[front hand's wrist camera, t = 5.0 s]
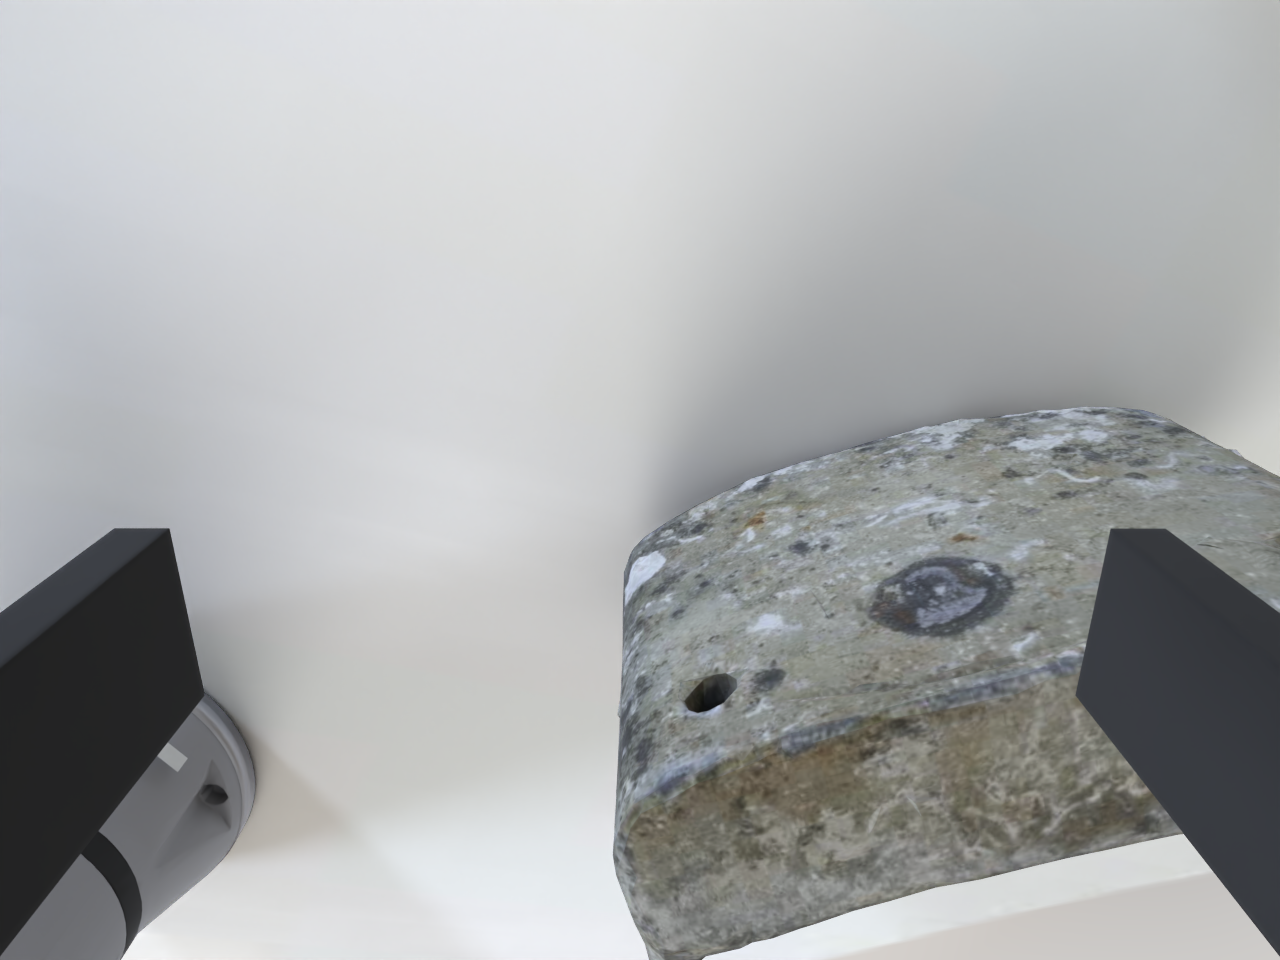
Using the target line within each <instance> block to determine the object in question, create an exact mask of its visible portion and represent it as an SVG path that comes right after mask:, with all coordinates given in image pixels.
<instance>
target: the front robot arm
mask: <svg viewBox="0 0 1280 960" xmlns="http://www.w3.org/2000/svg"><path fill="white" fill-rule="evenodd" d="M1075 696H1076V697H1077V698H1078V699H1079V701H1080V702H1081V703H1082V705H1083V706H1084V707H1085V708H1086V710H1087V711H1088V712H1089V714H1090V715H1091V716H1092V717H1093V719H1094V720H1095V721H1096V722H1097V724H1098V725H1099V726H1100V728H1101V729H1102V730H1103V731H1104V733H1105V734H1106V735H1107V737H1108V738H1109V739H1110V740H1111V742H1112V743H1113V744H1114V745H1115V747H1116V748H1117V749H1118V751H1119V752H1120V753H1121V754H1122V756H1123V757H1124V758H1125V759H1126V761H1127V762H1128V763H1129V765H1130V766H1131V767H1132V768H1133V770H1134V771H1135V772H1136V774H1137V775H1138V776H1139V777H1140V779H1141V780H1142V781H1143V782H1144V784H1145V785H1146V786H1147V788H1148V789H1149V790H1150V791H1151V793H1152V794H1153V795H1154V796H1155V798H1156V799H1157V800H1158V802H1159V803H1160V804H1161V805H1162V807H1163V808H1164V809H1165V811H1166V812H1167V813H1168V814H1169V816H1170V817H1171V818H1172V819H1173V821H1174V822H1175V823H1176V825H1177V826H1178V827H1179V828H1180V830H1181V831H1182V832H1183V834H1184V835H1185V836H1186V837H1187V839H1188V840H1189V841H1190V842H1191V844H1192V845H1193V846H1194V848H1195V849H1196V850H1197V851H1198V853H1199V854H1200V855H1201V856H1202V858H1203V859H1204V860H1205V862H1206V863H1207V864H1208V865H1209V867H1210V868H1211V869H1212V871H1213V872H1214V873H1215V874H1216V876H1217V877H1218V878H1219V879H1220V881H1221V882H1222V883H1223V885H1224V886H1225V887H1226V888H1227V890H1228V891H1229V892H1230V893H1231V895H1232V896H1233V897H1234V899H1235V900H1236V901H1237V902H1238V904H1239V905H1240V906H1241V908H1242V909H1243V910H1244V911H1245V913H1246V914H1247V915H1248V916H1249V918H1250V919H1251V920H1252V922H1253V923H1254V924H1255V925H1256V927H1257V928H1258V929H1259V931H1260V932H1261V933H1262V934H1263V935H1264V937H1265V938H1266V939H1267V941H1268V942H1269V943H1270V945H1271V946H1272V947H1273V948H1274V950H1275V951H1276V952H1277V953H1278V955H1279V956H1280V613H1279V612H1278V611H1276V610H1275V609H1274V608H1272V607H1271V606H1270V605H1268V604H1267V603H1266V602H1264V601H1263V600H1262V599H1260V598H1259V597H1258V596H1256V595H1255V594H1253V593H1252V592H1251V591H1249V590H1248V589H1247V588H1245V587H1244V586H1243V585H1241V584H1240V583H1239V582H1237V581H1236V580H1235V579H1233V578H1232V577H1230V576H1229V575H1228V574H1226V573H1225V572H1224V571H1222V570H1221V569H1220V568H1218V567H1217V566H1216V565H1214V564H1213V563H1212V562H1210V561H1209V560H1207V559H1206V558H1205V557H1203V556H1202V555H1201V554H1199V553H1198V552H1197V551H1195V550H1194V549H1193V548H1191V547H1190V546H1189V545H1187V544H1186V543H1184V542H1183V541H1182V540H1180V539H1179V538H1178V537H1176V536H1175V535H1174V534H1172V533H1171V532H1170V531H1168V530H1167V529H1110V534H1109V539H1108V543H1107V548H1106V553H1105V558H1104V562H1103V567H1102V572H1101V576H1100V581H1099V586H1098V591H1097V595H1096V600H1095V605H1094V609H1093V614H1092V619H1091V624H1090V628H1089V633H1088V638H1087V643H1086V647H1085V652H1084V657H1083V661H1082V666H1081V671H1080V676H1079V680H1078V685H1077V690H1076V695H1075ZM254 796H255V775H254V769H253V764H252V760H251V757H250V754H249V751H248V749H247V746H246V744H245V742H244V740H243V738H242V736H241V735H240V733H239V731H238V729H237V728H236V726H235V725H234V724H233V722H232V721H231V719H230V718H229V717H228V716H227V714H226V713H225V712H224V711H223V710H222V709H221V708H220V707H219V706H218V705H217V704H216V703H215V702H214V701H213V700H212V699H211V698H210V697H209V696H208V695H207V694H205V693H204V690H203V685H202V680H201V676H200V671H199V666H198V661H197V657H196V652H195V647H194V643H193V638H192V633H191V628H190V624H189V619H188V614H187V609H186V605H185V600H184V595H183V591H182V586H181V581H180V576H179V572H178V567H177V562H176V558H175V553H174V548H173V543H172V539H171V534H170V529H113V530H112V531H110V532H109V533H108V534H106V535H105V536H104V537H102V538H101V539H100V540H98V541H97V542H96V543H94V544H93V545H91V546H90V547H89V548H87V549H86V550H85V551H83V552H82V553H81V554H79V555H78V556H77V557H75V558H74V559H73V560H71V561H70V562H68V563H67V564H66V565H64V566H63V567H62V568H60V569H59V570H58V571H56V572H55V573H54V574H52V575H51V576H50V577H48V578H47V579H45V580H44V581H43V582H41V583H40V584H39V585H37V586H36V587H35V588H33V589H32V590H31V591H29V592H28V593H27V594H25V595H24V596H22V597H21V598H20V599H18V600H17V601H16V602H14V603H13V604H12V605H10V606H9V607H8V608H6V609H5V610H4V611H2V612H1V613H0V960H121V959H122V957H123V955H124V954H125V952H126V951H127V949H128V948H129V946H130V945H131V943H132V941H133V940H134V938H135V937H136V935H137V934H138V933H139V932H140V931H141V930H142V929H143V928H145V927H146V926H147V925H148V924H149V923H151V922H152V921H153V920H154V919H155V918H157V917H158V916H159V915H160V914H161V913H162V912H164V911H165V910H166V909H167V908H168V907H170V906H171V905H172V904H173V903H174V902H176V901H177V900H178V899H179V898H180V897H182V896H183V895H184V894H185V893H186V892H187V891H189V890H190V889H191V888H192V887H193V886H195V885H196V884H197V883H198V882H199V881H201V880H202V879H203V878H204V877H205V876H207V875H208V874H209V873H210V872H211V871H212V870H213V869H214V868H215V867H216V866H217V865H218V864H219V863H220V862H221V861H222V860H223V858H224V857H225V856H226V855H227V854H228V852H229V851H230V849H231V848H232V846H233V845H234V843H235V841H236V839H237V838H238V836H239V834H240V833H241V831H242V829H243V827H244V826H245V824H246V822H247V820H248V817H249V815H250V812H251V809H252V806H253V801H254Z"/></svg>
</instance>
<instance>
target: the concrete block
mask: <svg viewBox="0 0 1280 960" xmlns="http://www.w3.org/2000/svg"><path fill="white" fill-rule="evenodd" d="M1110 529H1167V530H1168V531H1170V532H1171V533H1172V534H1174V535H1175V536H1176V537H1178V538H1179V539H1180V540H1182V541H1183V542H1184V543H1186V544H1187V545H1189V546H1190V547H1191V548H1193V549H1194V550H1195V551H1197V552H1198V553H1199V554H1201V555H1202V556H1203V557H1205V558H1206V559H1207V560H1209V561H1210V562H1212V563H1213V564H1214V565H1216V566H1217V567H1218V568H1220V569H1221V570H1222V571H1224V572H1225V573H1226V574H1228V575H1229V576H1230V577H1232V578H1233V579H1235V580H1236V581H1237V582H1239V583H1240V584H1241V585H1243V586H1244V587H1245V588H1247V589H1248V590H1249V591H1251V592H1252V593H1253V594H1255V595H1256V596H1258V597H1259V598H1260V599H1262V600H1263V601H1264V602H1266V603H1267V604H1268V605H1270V606H1271V607H1272V608H1274V609H1275V610H1276V611H1278V612H1279V613H1280V477H1279V476H1277V475H1275V474H1273V473H1270V472H1269V471H1267V470H1265V469H1263V468H1261V467H1260V466H1258V465H1256V464H1254V463H1252V462H1250V461H1248V460H1246V459H1244V458H1243V457H1242V455H1241V454H1240V453H1239V452H1238V451H1237V450H1229V449H1225V448H1223V447H1221V446H1219V445H1217V444H1215V443H1213V442H1211V441H1209V440H1207V439H1206V438H1205V437H1204V436H1200V435H1198V434H1196V433H1194V432H1192V431H1190V430H1188V429H1186V428H1184V427H1182V426H1181V425H1179V424H1177V423H1175V422H1173V421H1171V420H1170V419H1167V418H1164V417H1162V416H1159V415H1156V414H1153V413H1150V412H1147V411H1144V410H1134V409H1125V408H1110V407H1078V408H1070V409H1062V410H1038V411H1034V412H1030V413H1024V414H1015V415H1005V416H999V417H993V418H983V419H958V420H955V421H951V422H947V423H943V424H939V425H936V426H925V427H922V428H918V429H915V430H912V431H909V432H905V433H902V434H898V435H895V436H891V437H887V438H883V439H880V440H876V441H872V442H869V443H866V444H862V445H859V446H856V447H853V448H850V449H847V450H844V451H841V452H837V453H833V454H829V455H825V456H822V457H818V458H815V459H811V460H808V461H804V462H800V463H797V464H794V465H791V466H788V467H785V468H783V469H779V470H776V471H773V472H770V473H767V474H764V475H761V476H757V477H754V478H751V479H750V480H748V481H746V482H744V483H742V484H740V485H738V486H736V487H734V488H732V489H730V490H727V491H725V492H723V493H721V494H719V495H717V496H715V497H713V498H711V499H709V500H707V501H705V502H703V503H701V504H699V505H697V506H695V507H693V508H691V509H690V510H688V511H686V512H684V513H683V514H681V515H679V516H677V517H675V518H674V519H672V520H670V521H669V522H667V523H666V524H664V525H663V526H661V527H659V528H658V529H656V530H655V531H653V532H652V533H650V534H649V535H647V536H646V537H644V538H643V539H642V540H641V542H640V543H639V544H638V545H637V546H636V547H635V548H634V549H633V551H632V553H631V554H630V557H629V560H628V563H627V566H626V569H625V571H624V594H623V664H622V680H621V697H620V704H619V710H618V716H619V717H620V732H619V751H618V773H617V790H616V812H615V834H614V846H613V858H614V864H615V870H616V875H617V878H618V881H619V883H620V886H621V889H622V892H623V894H624V897H625V900H626V902H627V905H628V908H629V910H630V913H631V915H632V918H633V920H634V923H635V925H636V927H637V929H638V931H639V933H640V935H641V937H642V939H643V941H644V943H645V945H646V949H647V953H648V957H649V960H702V959H703V958H704V957H705V956H709V955H713V954H718V953H722V952H726V951H731V950H735V949H739V948H742V947H744V946H746V945H748V944H750V943H752V942H757V941H761V940H766V939H771V938H775V937H777V936H780V935H783V934H786V933H789V932H791V931H794V930H797V929H800V928H803V927H807V926H810V925H813V924H816V923H819V922H822V921H825V920H828V919H831V918H834V917H837V916H840V915H843V914H845V913H848V912H851V911H854V910H858V909H862V908H865V907H869V906H873V905H876V904H880V903H884V902H888V901H891V900H895V899H898V898H901V897H905V896H908V895H911V894H915V893H918V892H922V891H925V890H928V889H932V888H935V887H941V886H946V885H952V884H957V883H963V882H968V881H974V880H979V879H983V878H987V877H991V876H995V875H999V874H1003V873H1007V872H1011V871H1015V870H1019V869H1023V868H1028V867H1032V866H1036V865H1040V864H1044V863H1048V862H1052V861H1057V860H1061V859H1065V858H1069V857H1074V856H1079V855H1084V854H1089V853H1093V852H1098V851H1103V850H1108V849H1112V848H1117V847H1121V846H1126V845H1130V844H1135V843H1139V842H1144V841H1149V840H1154V839H1159V838H1164V837H1168V836H1173V835H1178V834H1183V832H1182V831H1181V830H1180V828H1179V827H1178V826H1177V825H1176V823H1175V822H1174V821H1173V819H1172V818H1171V817H1170V816H1169V814H1168V813H1167V812H1166V811H1165V809H1164V808H1163V807H1162V805H1161V804H1160V803H1159V802H1158V800H1157V799H1156V798H1155V796H1154V795H1153V794H1152V793H1151V791H1150V790H1149V789H1148V788H1147V786H1146V785H1145V784H1144V782H1143V781H1142V780H1141V779H1140V777H1139V776H1138V775H1137V774H1136V772H1135V771H1134V770H1133V768H1132V767H1131V766H1130V765H1129V763H1128V762H1127V761H1126V759H1125V758H1124V757H1123V756H1122V754H1121V753H1120V752H1119V751H1118V749H1117V748H1116V747H1115V745H1114V744H1113V743H1112V742H1111V740H1110V739H1109V738H1108V737H1107V735H1106V734H1105V733H1104V731H1103V730H1102V729H1101V728H1100V726H1099V725H1098V724H1097V722H1096V721H1095V720H1094V719H1093V717H1092V716H1091V715H1090V714H1089V712H1088V711H1087V710H1086V708H1085V707H1084V706H1083V705H1082V703H1081V702H1080V701H1079V699H1078V698H1077V697H1076V696H1075V695H1076V690H1077V685H1078V680H1079V676H1080V671H1081V666H1082V661H1083V657H1084V652H1085V647H1086V643H1087V638H1088V633H1089V628H1090V624H1091V619H1092V614H1093V609H1094V605H1095V600H1096V595H1097V591H1098V586H1099V581H1100V576H1101V572H1102V567H1103V562H1104V558H1105V553H1106V548H1107V543H1108V539H1109V534H1110Z"/></svg>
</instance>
